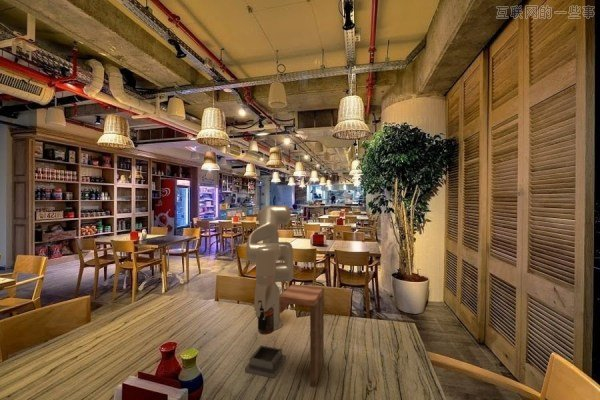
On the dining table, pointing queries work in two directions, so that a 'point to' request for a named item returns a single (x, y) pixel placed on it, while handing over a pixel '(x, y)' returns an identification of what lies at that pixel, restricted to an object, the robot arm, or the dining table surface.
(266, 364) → the socket
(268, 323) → the supplement bottle
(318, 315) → the wooden inverted l post
